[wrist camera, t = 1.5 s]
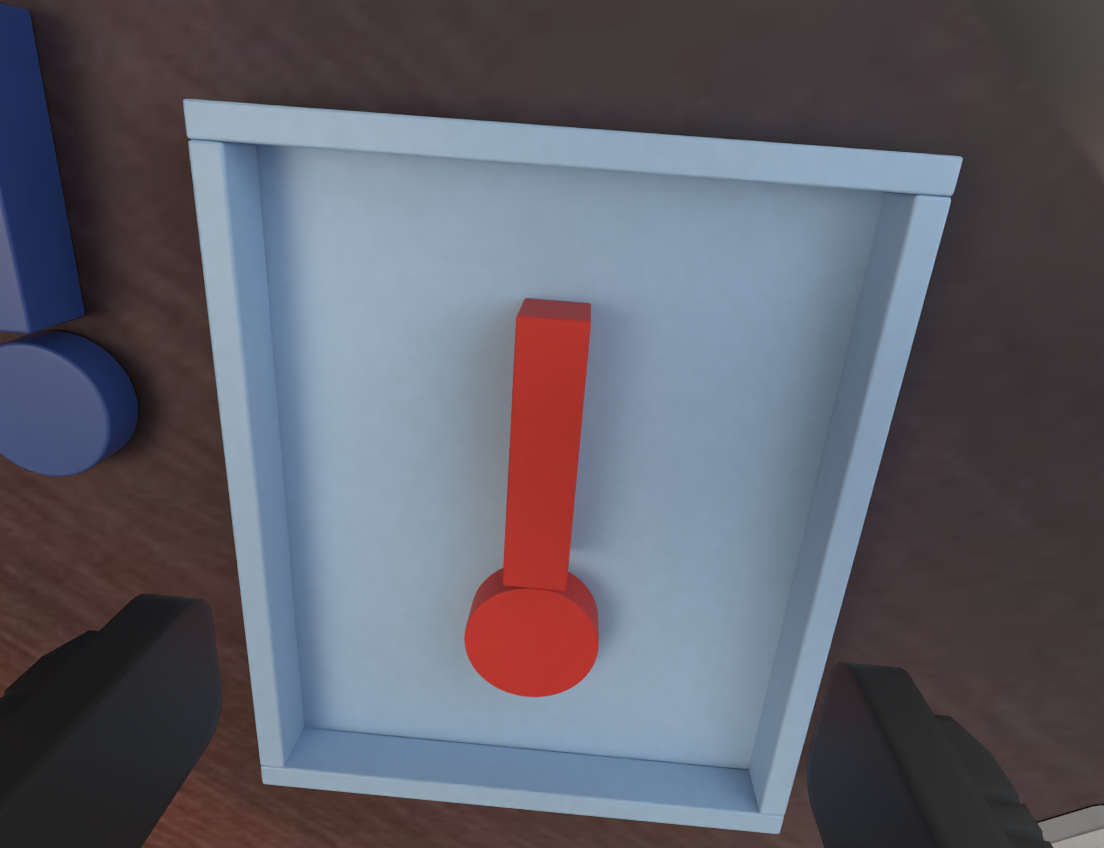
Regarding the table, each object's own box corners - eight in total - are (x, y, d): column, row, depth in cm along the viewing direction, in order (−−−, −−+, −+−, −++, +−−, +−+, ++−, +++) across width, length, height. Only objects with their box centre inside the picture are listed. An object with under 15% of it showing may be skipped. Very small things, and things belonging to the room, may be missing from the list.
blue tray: (232, 104, 15) (180, 98, 13) (916, 155, 14) (964, 156, 13) (290, 729, 21) (261, 784, 19) (763, 774, 21) (780, 835, 19)
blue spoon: (-85, 1, 14) (-175, -18, 13) (76, 12, 14) (7, -5, 13) (21, 451, 18) (-37, 482, 16) (149, 463, 18) (103, 494, 16)
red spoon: (481, 294, 15) (468, 311, 14) (634, 306, 15) (639, 325, 14) (469, 660, 19) (458, 709, 18) (592, 671, 19) (592, 721, 17)
